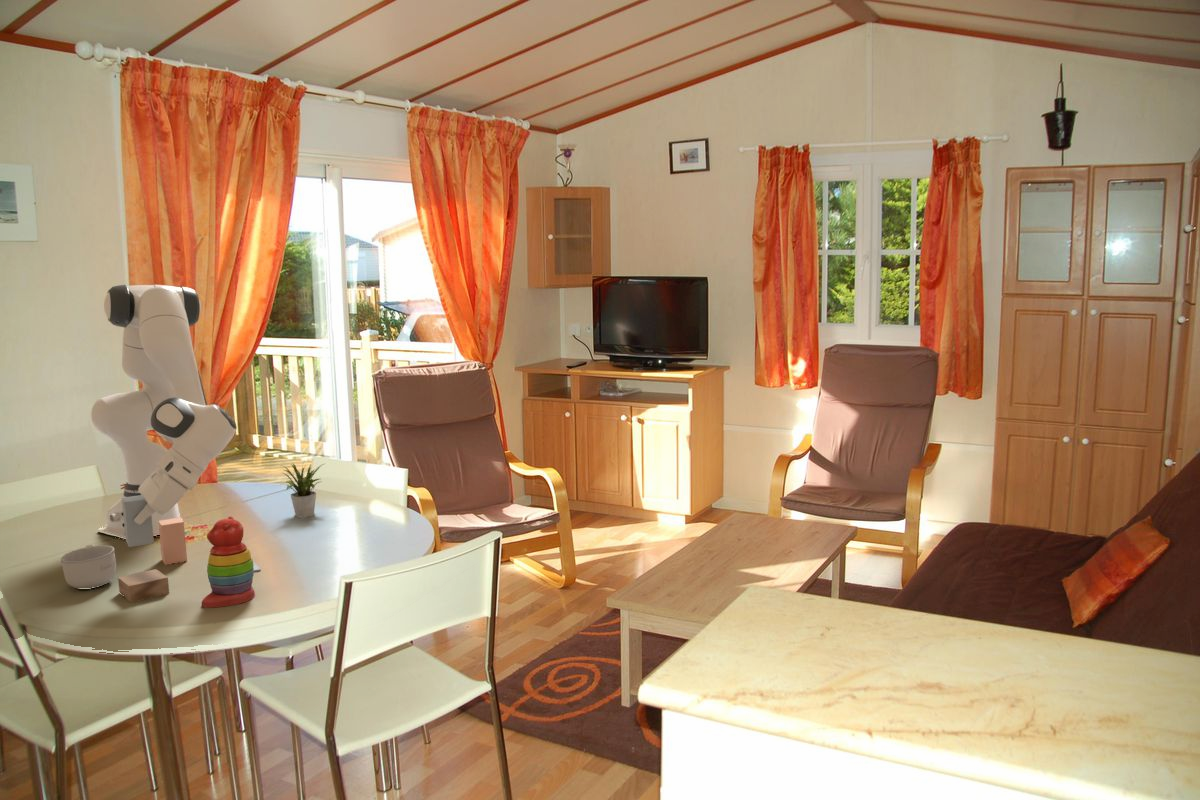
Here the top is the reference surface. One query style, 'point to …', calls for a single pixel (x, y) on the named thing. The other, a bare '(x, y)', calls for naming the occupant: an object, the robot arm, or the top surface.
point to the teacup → (89, 566)
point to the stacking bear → (228, 566)
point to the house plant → (303, 491)
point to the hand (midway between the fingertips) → (134, 519)
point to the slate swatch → (256, 568)
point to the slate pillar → (133, 530)
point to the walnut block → (143, 585)
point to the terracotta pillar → (172, 540)
